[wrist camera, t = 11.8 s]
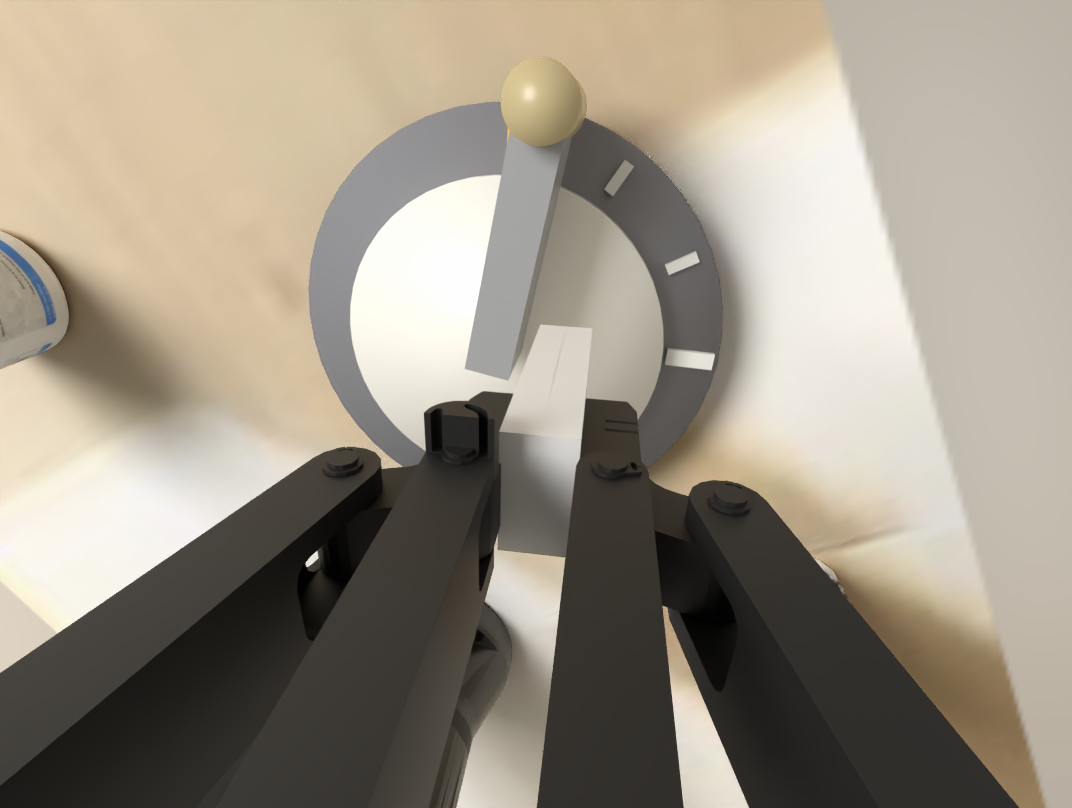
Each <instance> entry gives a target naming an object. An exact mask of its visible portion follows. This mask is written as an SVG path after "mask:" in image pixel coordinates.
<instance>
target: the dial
mask: <svg viewBox="0 0 1072 808" xmlns="http://www.w3.org/2000/svg"><path fill="white" fill-rule="evenodd" d="M586 108H587V104H586V97H585V93H584V91H583V88H582V87H581V85H580V83H579V82H578V81H577V80H576V79H575V77H574V76H573V75H572V74H571V73H570V72H569V71H568V69H567V68H566V67H564V66H563V65H562V64H561V63H559V62H558V61H556V60H554V59H551V58H547V57H533V58H530V59H527V60H525V61H523V62H521V63H520V64H518V65H517V66H516V67H515V68H514V69H513V70H512V71H511V72H510V74H509V75H508V77H507V79H506V81H505V83H504V86H503V89H502V94H501V110H502V115H503V118H504V121H505V123H506V125H507V127H508V128H509V130H510V131H509V137H508V142H507V147H506V153H505V158H504V163H503V168H502V174H491V175H481V176H474V177H470V178H465V179H461V180H457V181H454V182H450V183H447V184H445V185H442V186H440V187H437V188H435V189H433V190H430V191H428V192H426V193H424V194H422V195H421V196H419V197H417V198H416V199H414V200H412V201H411V202H409V203H408V204H406V205H405V206H404V207H403V208H402V209H400V210H399V211H398V212H397V213H396V214H394V215H393V216H392V217H391V218H390V219H389V220H388V222H387V223H386V224H385V225H384V226H383V227H382V228H381V229H380V230H379V232H378V233H377V235H376V236H375V238H374V239H373V241H372V242H371V244H370V245H369V247H368V248H367V250H366V253H365V255H364V257H363V259H362V261H361V263H360V266H359V268H358V272H357V275H356V278H355V282H354V285H353V291H352V298H351V304H350V327H351V336H352V344H353V348H354V352H355V356H356V360H357V363H358V366H359V368H360V371H361V374H362V376H363V379H364V381H365V383H366V385H367V387H368V389H369V391H370V392H371V394H372V396H373V398H374V399H375V401H376V402H377V404H378V405H379V407H380V408H381V409H382V411H383V412H384V414H385V415H386V416H387V417H388V418H389V419H390V420H391V422H392V423H393V424H394V425H395V426H396V427H397V428H398V429H399V430H400V431H401V432H402V433H403V434H404V435H405V436H406V437H407V438H409V439H410V440H411V441H412V442H414V443H415V444H416V445H418V446H419V447H420V448H422V449H423V450H425V451H426V446H425V428H424V412H425V411H426V410H428V409H429V408H430V407H432V406H434V405H437V404H440V403H444V402H449V401H469V400H470V399H471V398H472V397H474V396H476V395H477V394H479V393H481V392H482V391H488V392H500V393H512V394H514V392H515V389H516V386H517V384H518V381H519V379H520V376H521V373H522V371H523V368H524V366H525V363H526V361H527V358H528V355H529V353H530V350H531V348H532V345H533V342H534V340H535V337H536V335H537V332H538V329H539V327H540V325H553V326H566V327H580V328H593V329H592V340H591V352H590V364H589V376H588V388H587V398H589V399H601V400H613V401H624V402H628V403H629V404H630V405H631V406H632V407H633V408H634V409H635V411H636V412H637V419H639V417H640V416H641V414H642V412H643V411H644V409H645V408H646V406H647V404H648V402H649V400H650V398H651V395H652V393H653V391H654V389H655V386H656V383H657V379H658V376H659V372H660V369H661V362H662V355H663V322H662V315H661V308H660V303H659V299H658V296H657V292H656V289H655V285H654V282H653V279H652V277H651V274H650V272H649V270H648V268H647V265H646V263H645V261H644V259H643V258H642V256H641V254H640V253H639V251H638V249H637V248H636V246H635V245H634V243H633V242H632V240H631V239H630V238H629V237H628V236H627V234H626V233H625V232H624V231H623V230H622V228H621V227H620V226H619V225H618V224H617V223H616V222H615V221H614V220H613V219H612V218H611V217H609V216H608V215H607V214H606V213H605V212H604V211H603V210H602V209H600V208H599V207H597V206H596V205H595V204H593V203H592V202H590V201H589V200H587V199H586V198H584V197H583V196H581V195H579V194H577V193H575V192H573V191H571V190H569V189H567V188H565V187H563V186H561V182H562V178H563V173H564V169H565V165H566V161H567V157H568V152H569V148H570V144H571V140H572V137H573V136H574V135H575V134H576V133H577V132H578V130H579V129H580V128H581V126H582V124H583V122H584V119H585V116H586Z"/></svg>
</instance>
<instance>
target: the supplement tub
mask: <svg viewBox="0 0 1072 808" xmlns="http://www.w3.org/2000/svg"><path fill="white" fill-rule="evenodd" d="M68 323H69V312H68V305H67V302H66V297H65V294H64V291H63V288H62V286H61V284H60V282H59V280H58V279H57V277H56V275H55V274H54V272H53V271H52V270H51V268H50V267H49V266H48V265H47V263H46V262H45V261H44V260H43V259H42V258H41V257H40V256H39V255H38V254H37V253H36V252H35V251H34V250H32V249H31V248H30V247H29V246H27V245H26V244H24V243H23V242H22V241H20V240H18V239H17V238H15V237H13V236H11V235H9V234H7V233H5V232H2V231H0V369H2V368H5V367H7V366H9V365H12V364H15V363H17V362H20V361H22V360H25V359H27V358H30V357H32V356H34V355H37V354H39V353H41V352H44V351H46V350H49V349H50V348H52V347H54V346H55V345H56V344H58V343H59V342H60V341H61V339H62V338H63V337H64V335H65V333H66V330H67V327H68Z"/></svg>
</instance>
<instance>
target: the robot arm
mask: <svg viewBox="0 0 1072 808" xmlns="http://www.w3.org/2000/svg"><path fill="white" fill-rule="evenodd" d="M592 329H593V328H580V327H566V326H553V325H540V327H539V329H538V332H537V335H536V337H535V340H534V342H533V345H532V348H531V350H530V353H529V355H528V358H527V361H526V363H525V366H524V368H523V371H522V373H521V376H520V379H519V381H518V384H517V386H516V389H515V392H514V394H512V393H500V392H488V391H482V392H481V393H479V394H477V395H476V396H474V397H472V398H471V399H470V400H469V401H449V402H444V403H440V404H437V405H434V406H432V407H430V408H429V409H428V410H426V411H425V412H424V428H425V446H426V452H425V454H424V456H423V457H422V459H421V461H420V462H419V464H417V465H414V466H407V467H399V468H388V469H382V468H381V459H380V457H379V456H378V455H377V454H376V453H375V452H373V451H370V450H368V449H364V448H356V447H347V448H345V447H342V448H337V449H334V450H331V451H327V452H324V453H322V454H320V455H318V456H316V457H314V458H313V459H311V460H310V461H308V462H307V463H305V464H304V465H302V466H301V467H300V468H298V469H297V470H295V471H294V472H292V473H291V474H289V475H288V476H286V477H285V478H284V479H282V480H281V481H279V482H278V483H276V484H275V485H273V486H272V487H270V488H269V489H267V490H266V491H265V492H263V493H262V494H260V495H259V496H257V497H256V498H254V499H253V500H251V501H250V502H249V503H247V504H246V505H244V506H243V507H241V508H240V509H238V510H237V511H235V512H234V513H233V514H231V515H230V516H228V517H227V518H225V519H224V520H222V521H221V522H219V523H218V524H217V525H215V526H214V527H212V528H211V529H209V530H208V531H206V532H205V533H203V534H202V535H201V536H199V537H198V538H196V539H195V540H193V541H192V542H190V543H189V544H187V545H186V546H185V547H183V548H182V549H180V550H179V551H177V552H176V553H174V554H173V555H171V556H170V557H169V558H167V559H166V560H164V561H163V562H161V563H160V564H158V565H157V566H155V567H154V568H153V569H151V570H150V571H148V572H147V573H145V574H144V575H142V576H141V577H139V578H138V579H137V580H135V581H134V582H132V583H131V584H129V585H128V586H126V587H125V588H123V589H122V590H121V591H119V592H118V593H116V594H115V595H113V596H112V597H110V598H109V599H107V600H106V601H104V602H103V603H102V604H100V605H99V606H97V607H96V608H94V609H93V610H91V611H90V612H88V613H87V614H86V615H84V616H83V617H81V618H80V619H78V620H77V621H75V622H74V623H72V624H71V625H70V626H68V627H67V628H65V629H64V630H62V631H61V632H59V633H58V634H56V635H55V636H54V637H52V638H51V639H49V640H48V641H46V642H45V643H43V644H42V645H40V646H39V647H38V648H36V649H35V650H33V651H32V652H30V653H29V654H27V655H26V656H24V657H23V658H22V659H20V660H19V661H17V662H16V663H14V664H13V665H11V666H10V667H9V668H7V669H6V670H4V671H3V672H1V673H0V808H456V807H457V802H458V798H459V794H460V790H461V785H462V781H463V777H464V773H465V768H466V764H467V759H468V755H469V751H470V747H471V743H472V739H473V737H474V735H475V734H476V732H477V731H478V729H479V727H480V726H481V724H482V722H483V721H484V719H485V718H486V716H487V714H488V713H489V711H490V709H491V708H492V706H493V705H494V703H495V701H496V700H497V698H498V696H499V695H500V693H501V692H502V690H503V688H504V685H505V683H506V680H507V677H508V672H509V667H510V662H511V657H512V646H511V641H510V637H509V635H508V632H507V630H506V628H505V626H504V625H503V623H502V622H501V620H500V619H499V618H498V616H497V615H496V614H495V613H494V612H493V611H492V610H491V609H490V608H489V607H488V606H486V605H485V604H484V601H485V597H486V594H487V590H488V586H489V583H490V579H491V575H492V572H493V568H494V545H495V541H496V538H497V534H498V550H505V551H514V552H523V553H532V554H541V555H549V556H558V557H566V558H565V567H564V576H563V585H562V593H561V602H560V611H559V620H558V628H557V637H556V646H555V655H554V663H553V672H552V681H551V689H550V698H549V707H548V716H547V724H546V733H545V742H544V751H543V759H542V768H541V777H540V786H539V794H538V803H537V808H683V799H682V789H681V780H680V770H679V760H678V751H677V741H676V732H675V722H674V713H673V703H672V694H671V684H670V675H669V665H668V656H667V646H666V637H665V627H664V618H663V608H662V605H663V606H665V607H668V613H669V619H670V622H671V624H672V626H673V629H674V631H675V633H676V636H677V638H678V640H679V643H680V645H681V648H682V650H683V652H684V655H685V657H686V659H687V662H688V664H689V666H690V669H691V671H692V674H693V676H694V678H695V681H696V683H697V685H698V688H699V690H700V692H701V695H702V697H703V700H704V702H705V704H706V707H707V709H708V711H709V714H710V716H711V718H712V721H713V723H714V726H715V728H716V730H717V733H718V735H719V737H720V740H721V742H722V744H723V747H724V749H725V752H726V754H727V756H728V759H729V761H730V763H731V766H732V768H733V770H734V773H735V775H736V778H737V780H738V782H739V785H740V787H741V789H742V792H743V794H744V796H745V799H746V801H747V804H748V806H749V808H1019V807H1018V806H1017V805H1016V803H1015V802H1014V801H1013V800H1012V799H1011V797H1010V796H1009V795H1008V794H1007V792H1006V791H1005V790H1004V789H1003V788H1002V786H1001V785H1000V784H999V783H998V782H997V780H996V779H995V778H994V777H993V775H992V774H991V773H990V772H989V771H988V769H987V768H986V767H985V766H984V765H983V763H982V762H981V761H980V760H979V758H978V757H977V756H976V755H975V754H974V752H973V751H972V750H971V749H970V748H969V746H968V745H967V744H966V743H965V741H964V740H963V739H962V738H961V737H960V735H959V734H958V733H957V732H956V731H955V729H954V728H953V727H952V726H951V724H950V723H949V722H948V721H947V720H946V718H945V717H944V716H943V715H942V714H941V712H940V711H939V710H938V709H937V707H936V706H935V705H934V704H933V703H932V701H931V700H930V699H929V698H928V697H927V695H926V694H925V693H924V692H923V690H922V689H921V688H920V687H919V686H918V684H917V683H916V682H915V681H914V680H913V678H912V677H911V676H910V675H909V673H908V672H907V671H906V670H905V669H904V667H903V666H902V665H901V664H900V663H899V661H898V660H897V659H896V658H895V656H894V655H893V654H892V653H891V652H890V650H889V649H888V648H887V647H886V646H885V644H884V643H883V642H882V641H881V639H880V638H879V637H878V636H877V635H876V633H875V632H874V631H873V630H872V629H871V627H870V626H869V625H868V624H867V622H866V621H865V620H864V619H863V618H862V616H861V615H860V614H859V613H858V612H857V610H856V609H855V608H854V607H853V605H852V604H851V603H850V602H849V601H848V599H847V598H846V597H845V596H844V595H843V593H842V592H841V591H840V590H839V588H838V587H837V586H836V585H835V584H834V582H833V581H832V580H831V579H830V578H829V576H828V575H827V574H826V573H825V571H824V570H823V569H822V568H821V567H820V565H819V564H818V563H817V562H816V561H815V559H814V558H813V557H812V556H811V554H810V553H809V552H808V551H807V550H806V548H805V547H804V546H803V545H802V544H801V542H800V541H799V540H798V539H797V537H796V536H795V535H794V534H793V533H792V531H791V530H790V529H789V528H788V527H787V525H786V524H785V523H784V522H783V520H782V519H781V518H780V517H779V516H778V514H777V513H776V512H775V511H774V510H773V508H772V507H771V506H770V505H769V503H768V502H767V501H766V500H765V499H764V498H763V497H761V496H760V495H759V494H758V493H757V492H755V491H753V490H751V489H749V488H747V487H745V486H743V485H741V484H738V483H733V482H729V481H716V480H713V481H707V482H701V483H699V484H698V485H696V486H694V487H693V488H692V490H691V492H690V494H689V496H686V495H682V494H679V493H675V492H672V491H670V490H667V489H664V488H662V487H661V486H659V485H657V484H655V483H654V482H653V481H651V480H650V479H649V475H648V471H647V469H646V467H645V465H644V464H643V463H642V462H641V451H640V440H639V430H638V419H637V412H636V411H635V409H634V408H633V407H632V406H631V405H630V404H629V403H628V402H624V401H613V400H601V399H589V398H587V388H588V376H589V364H590V352H591V340H592ZM316 551H318V557H319V558H318V559H317V560H316V561H315V562H314V563H313V564H312V565H310V566H309V567H306V565H305V563H306V561H307V560H308V559H309V558H310V556H312V555H313V554H314V553H315V552H316Z"/></svg>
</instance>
